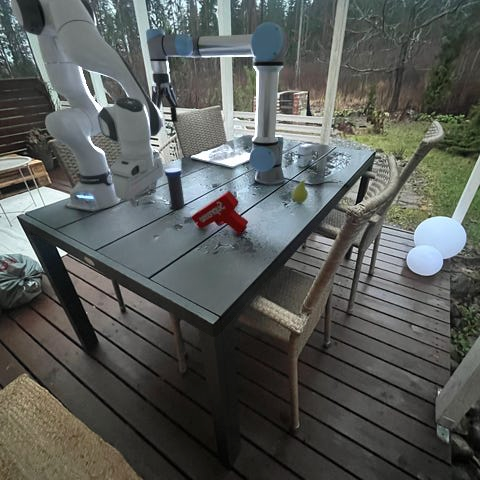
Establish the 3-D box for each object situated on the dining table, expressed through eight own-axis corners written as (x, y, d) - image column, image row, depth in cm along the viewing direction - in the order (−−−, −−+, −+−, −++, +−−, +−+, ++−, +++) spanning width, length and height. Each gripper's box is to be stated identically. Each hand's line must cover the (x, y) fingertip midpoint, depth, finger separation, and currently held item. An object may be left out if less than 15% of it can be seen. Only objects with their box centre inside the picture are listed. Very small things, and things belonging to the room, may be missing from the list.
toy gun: (254, 223, 98) (229, 189, 94) (251, 228, 95) (225, 194, 91) (219, 242, 108) (195, 212, 104) (215, 247, 105) (190, 217, 101)
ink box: (304, 162, 171) (306, 143, 164) (310, 164, 168) (313, 144, 161) (296, 165, 166) (298, 145, 159) (302, 167, 163) (305, 147, 156)
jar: (169, 207, 118) (163, 171, 110) (177, 202, 122) (172, 167, 113) (178, 210, 116) (173, 174, 107) (187, 205, 120) (182, 170, 111)
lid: (162, 175, 110) (161, 170, 109) (173, 171, 115) (172, 166, 114) (174, 178, 107) (173, 173, 106) (184, 173, 112) (184, 168, 111)
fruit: (288, 200, 123) (290, 174, 116) (302, 197, 125) (305, 172, 119) (296, 206, 118) (299, 179, 111) (310, 203, 120) (314, 177, 114)
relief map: (232, 167, 162) (232, 159, 160) (191, 158, 180) (190, 150, 177) (257, 157, 181) (258, 149, 178) (218, 149, 198) (217, 142, 196)
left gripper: (150, 146, 90) (154, 183, 99) (105, 169, 75) (115, 211, 84) (166, 150, 89) (169, 187, 97) (125, 175, 73) (133, 216, 82)
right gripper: (167, 72, 132) (173, 119, 143) (136, 73, 112) (146, 128, 123) (181, 72, 130) (186, 120, 141) (151, 73, 110) (160, 129, 121)
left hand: (144, 198), depth 90 cm, fingers open, 8 cm apart
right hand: (167, 124), depth 132 cm, fingers open, 13 cm apart
